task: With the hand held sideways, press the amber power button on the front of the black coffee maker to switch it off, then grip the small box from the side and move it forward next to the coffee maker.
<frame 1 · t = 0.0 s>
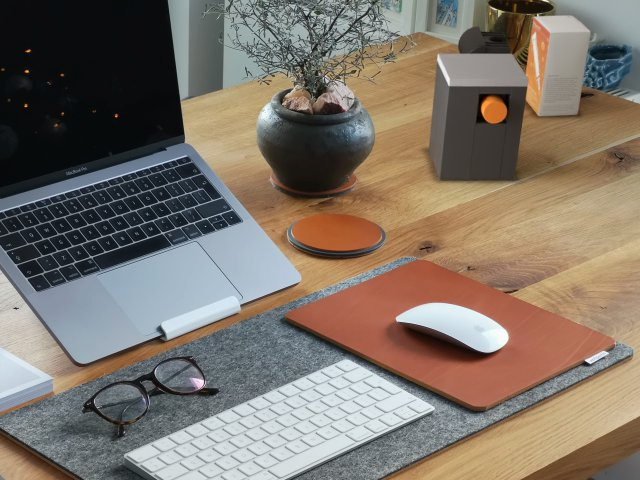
power button: (493, 108, 143), point 10 cm above the table, slide at 0.1 cm
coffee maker: (470, 164, 152), on the table
end cap: (480, 76, 183), on the table
small box: (549, 107, 171), on the table
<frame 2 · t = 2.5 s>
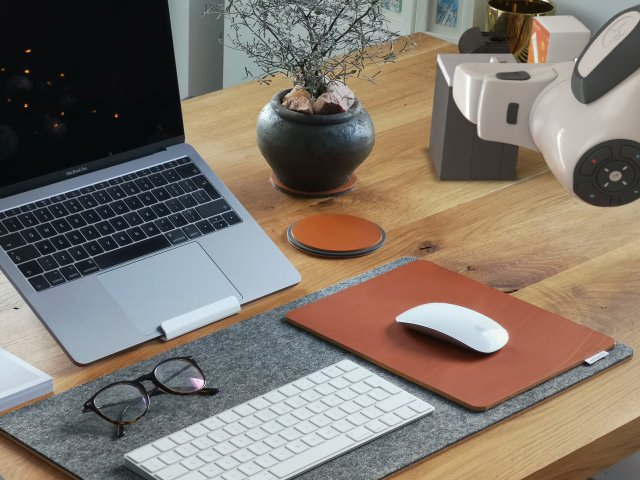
hand: (537, 64, 121), 22 cm above the table, tool horizontal, fingers open, 8 cm apart
nothing on the table moved.
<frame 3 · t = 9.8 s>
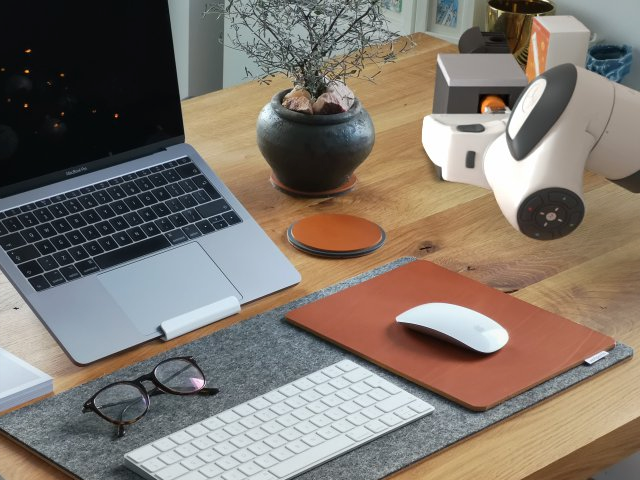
hand: (495, 112, 142), 10 cm above the table, tool horizontal, fingers closed, pressing on power button
power button: (492, 108, 143), point 10 cm above the table, slide at -0.2 cm, touching gripper
everything else where it was.
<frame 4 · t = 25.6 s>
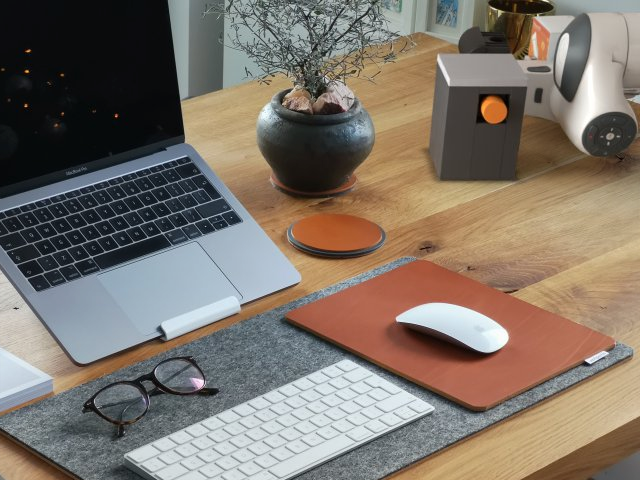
hand: (554, 60, 168), 7 cm above the table, tool horizontal, fingers closed on small box, 6 cm apart
power button: (493, 108, 143), point 10 cm above the table, slide at 0.1 cm
small box: (549, 107, 171), on the table, touching gripper
everything else where it was.
when the fingers open (7 cm above the table, at t = 33.2 s): small box stays where it is, on the table.
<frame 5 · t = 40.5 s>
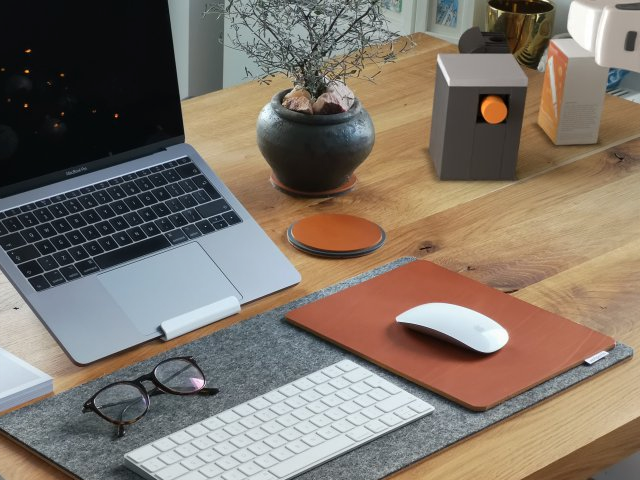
small box: (566, 135, 161), on the table
everything else where it was.
at the end: power button pushed in 0.6 cm at the most during the clip, back to where it started at the end; power button slide at 0.1 cm; small box inside the target area on the table beside the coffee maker (0.1 cm from its centre), on the table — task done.
